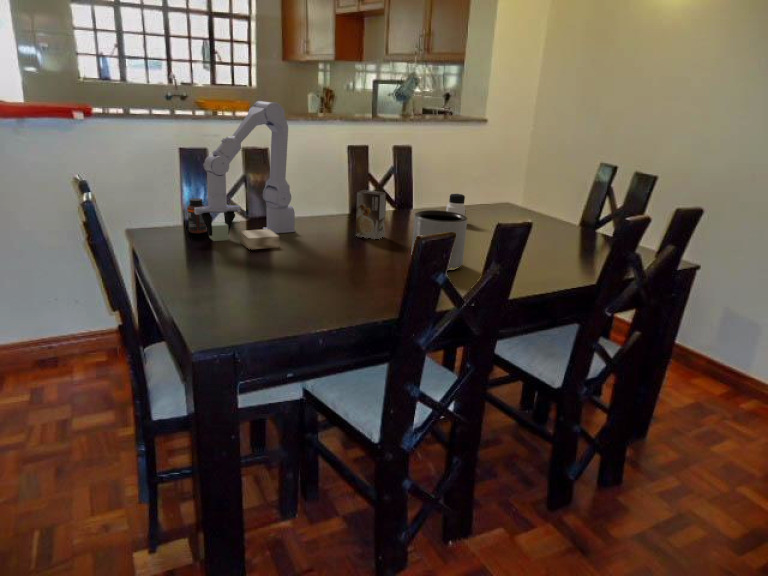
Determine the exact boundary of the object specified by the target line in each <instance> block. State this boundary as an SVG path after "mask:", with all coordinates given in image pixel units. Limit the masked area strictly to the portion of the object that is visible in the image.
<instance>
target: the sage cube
mask: <svg viewBox="0 0 768 576" xmlns="http://www.w3.org/2000/svg"><path fill="white" fill-rule="evenodd" d="M229 235H230V233H229V234H228V225H227V224H226V223H225V221H216V222H215V221H214V222H213V221H212V236H209V235H208V237H209V239H210V240H212V242H218V241H219V242H220V241H229V239H230V237H229Z"/></svg>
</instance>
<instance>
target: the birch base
mask: <svg viewBox="0 0 768 576" xmlns="http://www.w3.org/2000/svg"><path fill="white" fill-rule="evenodd" d="M239 241H240V243H241V244H242V245H243V246H244V247H245V248H246V249H247V248H248V249H249V250H250V249H251V250H259V249H260V250H262V249H275V248H280V235H279V234H278V233H274V232H273V231H271V230H270V229H263V228H262V229H250V230H239ZM248 249H247V250H248ZM249 250H248V251H249Z"/></svg>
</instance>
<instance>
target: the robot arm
mask: <svg viewBox="0 0 768 576" xmlns="http://www.w3.org/2000/svg"><path fill="white" fill-rule="evenodd" d="M285 111H286V110H285V109H284V107H282V105H281V104H279V103H278V102H275V101H272V102H270V101H264V100H258V101H256V102H255V103H254V104H253V105H252V106H251V107H250V108H249V110H248V113H247V114H246V116H245V117H244V118H243V120H242V121H241V124H240V125H239V126H238V127H237V128H236V130H235V131H234V133H233V134H232V135H231V136H226V137H223V138H222V139H221V140H220V142H221V143H220V144H219V145H218V147H217V148H216V149H215V150H213V151H212V154H210V155H209V156H207V157H206V158H205V159H204V163H203V164H202V166H203V169H204V170H205V171H206V176H207V180H206V181H207V182H206V183H207V202H208V203H207V205H206V206H205V205H204V206H205V207H197V208H194V212H195V214H196V215H199V214H201V216H202V218H203V220H204V222H205V224H206V227H207V234H208V237H209V236H212V223H213V216H211V214H221V213H222V214H223V216H224V222H225V223H226V224H227V225H228V234H229V235H230V231H231V227H232V224H233V222H234V219H235V218H236V213H241V210H242V209H241V206H240V205H239V204H238V205H237V204H236V205H235V204H234V205H227V203H228V202H227V177H226V175H227V174H226V173H228V172H229V170H230V164H231V163H232V161H233V160H234V159H235V157H236V156H237V154H238V153H240V151H241V149H242V143H243V141H244V140H245V139H246V138H247V137H248V136H249V135H250V134H251V132H253V130H255V128H256V127H257V126H262V125H265V126H266V127H267V128H268V129H269V130H270V131H271V137H270V138H271V141H270V159H269V160H270V161H269V177H268V179H267V180H266V181H265V185H264V189H263V190H262V198H263V200H264V201H265V205H266V227H262V229H270V230H271V231H273V232H274V233H276V234H285V233H296V230H295V226H296V219H295V218H296V216H295V215H296V214H295V208H294V207H293V206H292V205H290V204H291V202H292V193H291V191H290V184H289V183H288V181H287V179H286V177H287V174H286V173H287V157H288V141H289V124H288V122H287V119H286V115H285V113H286V112H285Z"/></svg>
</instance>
